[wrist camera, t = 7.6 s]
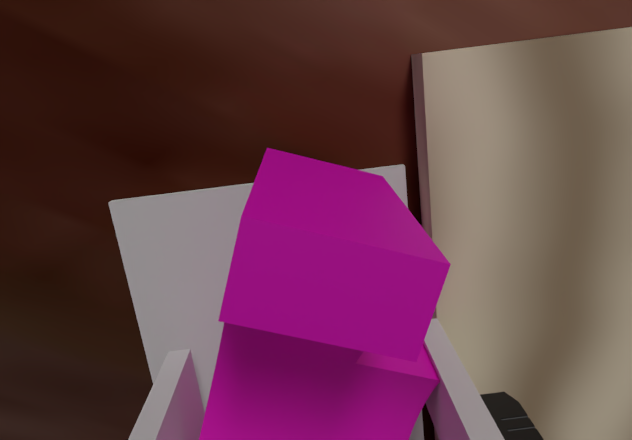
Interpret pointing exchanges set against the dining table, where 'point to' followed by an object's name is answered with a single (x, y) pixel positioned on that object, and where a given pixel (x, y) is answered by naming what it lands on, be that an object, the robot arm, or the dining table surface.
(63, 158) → the dining table surface
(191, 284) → the mat
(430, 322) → the robot arm
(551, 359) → the board
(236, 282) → the toy block
